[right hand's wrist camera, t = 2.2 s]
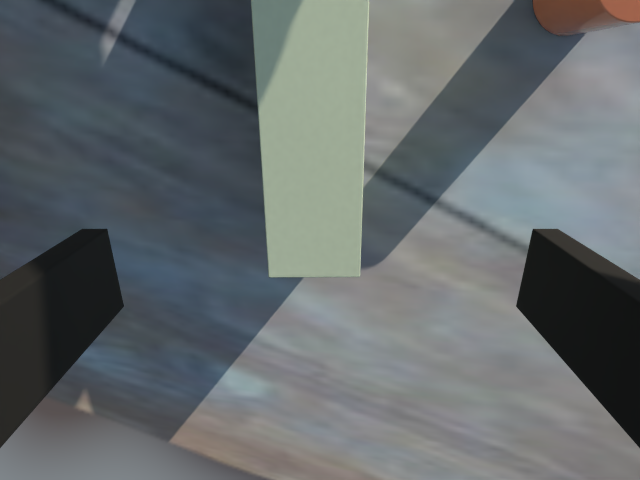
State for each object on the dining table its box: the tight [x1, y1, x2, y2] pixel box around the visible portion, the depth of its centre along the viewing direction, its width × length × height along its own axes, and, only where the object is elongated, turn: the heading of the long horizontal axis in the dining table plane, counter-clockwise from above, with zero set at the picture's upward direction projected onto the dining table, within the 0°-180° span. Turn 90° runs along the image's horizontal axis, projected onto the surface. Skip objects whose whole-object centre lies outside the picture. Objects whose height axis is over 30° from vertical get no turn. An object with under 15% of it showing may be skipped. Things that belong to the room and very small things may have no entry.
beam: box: [251, 0, 369, 277], centre depth 21 cm, size 26×5×9 cm, turn 0°
